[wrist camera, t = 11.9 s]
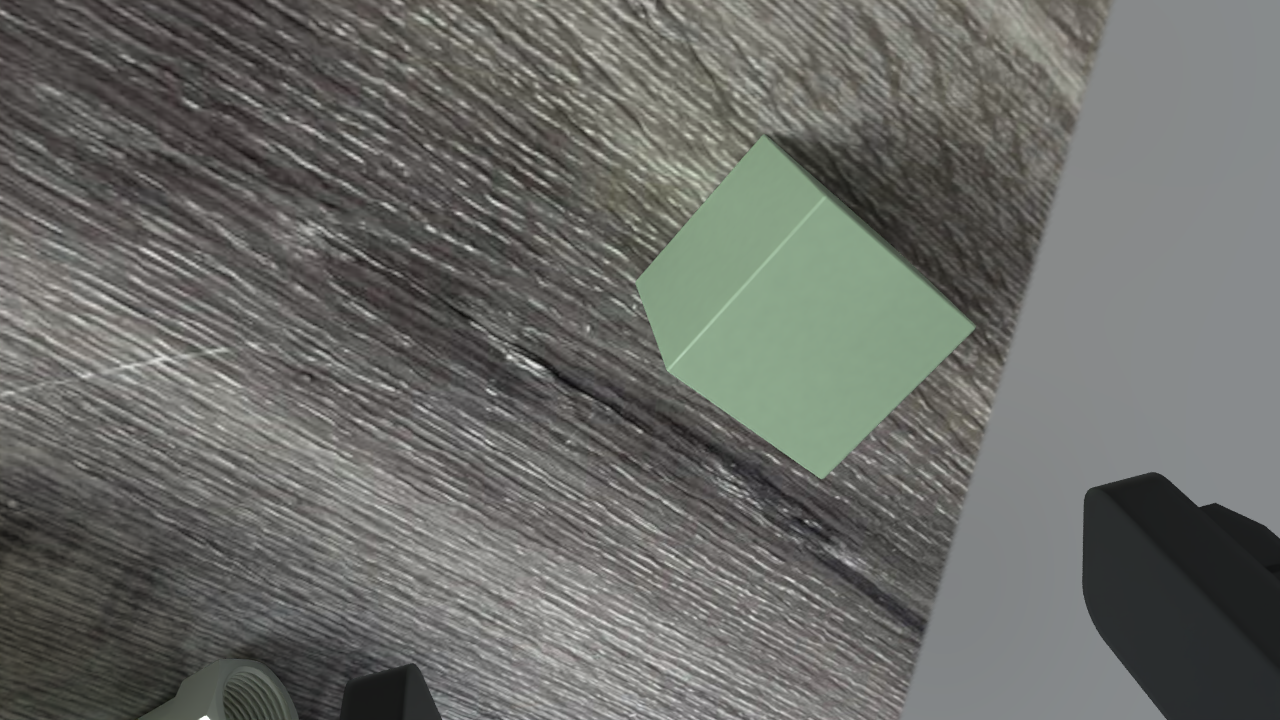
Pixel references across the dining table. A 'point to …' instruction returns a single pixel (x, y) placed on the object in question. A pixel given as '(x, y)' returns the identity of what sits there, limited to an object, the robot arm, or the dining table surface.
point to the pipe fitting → (229, 695)
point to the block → (795, 311)
